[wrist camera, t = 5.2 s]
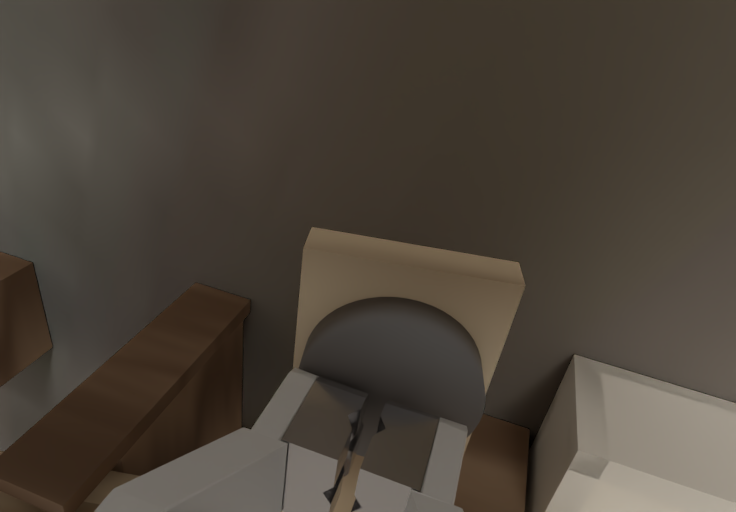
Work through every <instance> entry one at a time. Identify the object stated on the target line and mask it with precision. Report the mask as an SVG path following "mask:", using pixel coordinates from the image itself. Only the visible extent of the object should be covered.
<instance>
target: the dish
mask: <svg viewBox="0 0 736 512" xmlns="http://www.w3.org/2000/svg"><path fill="white" fill-rule="evenodd" d="M525 512H736V403H733V402H730V401H727V400H723V399H720V398H717V397H713V396H710V395H707V394H704V393H700V392H697V391H694V390H690V389H687V388H684V387H680V386H677V385H674V384H671V383H667V382H664V381H661V380H657V379H654V378H651V377H647V376H644V375H641V374H638V373H634V372H631V371H628V370H624V369H621V368H618V367H615V366H611V365H608V364H605V363H601V362H598V361H595V360H591V359H588V358H585V357H582V356H578V355H575V354H574V356H573V358H572V360H571V362H570V364H569V366H568V369H567V371H566V373H565V375H564V377H563V379H562V381H561V384H560V386H559V388H558V390H557V392H556V394H555V397H554V399H553V401H552V403H551V405H550V407H549V409H548V412H547V414H546V416H545V418H544V420H543V422H542V425H541V427H540V429H539V431H538V433H537V435H536V437H535V440H534V442H533V444H532V446H531V448H530V450H529V453H528V465H527V482H526V498H525Z"/></svg>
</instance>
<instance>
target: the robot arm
mask: <svg viewBox="0 0 736 512" xmlns="http://www.w3.org/2000/svg"><path fill="white" fill-rule="evenodd" d="M368 401H369V394H367V393H365V392H362V391H359V390H356V389H354V388H351V387H348V386H346V385H343V384H340V383H337V382H335V381H332V380H329V379H327V378H324V377H321V376H317V375H314V374H312V373H309V372H306V371H303V370H301V369H298V368H294V369H292V370H291V371H290V372H289V373H288V374H287V376H286V377H285V379H284V380H283V382H282V383H281V385H280V386H279V388H278V389H277V391H276V392H275V394H274V395H273V397H272V398H271V400H270V401H269V403H268V404H267V406H266V407H265V409H264V410H263V412H262V413H261V415H260V416H259V418H258V419H257V421H256V422H255V424H254V425H253V427H252V428H251V430H250V429H247V428H244V427H243V428H240V429H238V430H236V431H234V432H232V433H230V434H228V435H226V436H224V437H221V438H219V439H217V440H215V441H213V442H211V443H209V444H207V445H205V446H202V447H200V448H198V449H196V450H194V451H192V452H190V453H188V454H186V455H184V456H181V457H179V458H177V459H175V460H173V461H171V462H169V463H167V464H165V465H162V466H160V467H158V468H156V469H154V470H152V471H150V472H148V473H146V474H143V475H141V476H139V477H137V478H135V479H133V480H131V481H129V482H127V483H125V484H122V485H120V486H118V487H116V488H114V489H113V490H112V491H111V492H110V493H109V495H108V496H107V497H106V498H105V499H104V500H103V502H102V503H101V504H100V505H99V506H98V507H97V509H96V510H95V511H94V512H281V511H283V512H333V511H334V508H335V506H336V503H337V501H338V499H339V496H340V492H341V487H342V482H343V477H345V476H347V475H348V474H349V472H350V469H351V467H352V464H353V462H354V459H355V456H356V453H357V450H358V447H359V443H360V440H361V436H362V432H363V427H364V424H363V423H362V420H363V417H364V415H365V413H366V410H367V407H368ZM467 433H468V430H467V426H465V425H462V424H459V423H456V422H453V421H450V420H447V419H444V418H441V417H440V419H439V417H438V416H435V415H432V414H429V413H426V412H423V411H420V410H417V409H414V408H411V407H408V406H405V405H402V404H399V403H396V402H393V401H390V400H387V402H386V403H385V406H384V408H383V411H382V413H381V416H380V420H379V424H378V428H377V433H376V434H375V435H373V436H372V439H371V441H370V444H369V446H368V449H367V452H366V454H365V457H364V460H363V462H362V465H361V467H360V471H359V476H358V480H357V485H356V489H355V494H354V495H355V497H356V499H355V502H354V505H353V507H352V510H351V512H464V511H463V509H462V508H460V507H457V506H455V505H454V502H455V497H456V491H457V486H458V481H459V475H460V470H461V465H462V459H463V454H464V449H465V443H466V438H467Z"/></svg>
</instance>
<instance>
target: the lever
mask: <svg viewBox="0 0 736 512" xmlns="http://www.w3.org/2000/svg"><path fill="white" fill-rule="evenodd" d="M524 289H525V282H524V279H523V275H522V272H521V268H520V265H519V262H514V261H508V260H502V259H496V258H490V257H485V256H479V255H473V254H467V253H461V252H455V251H450V250H444V249H438V248H432V247H426V246H420V245H415V244H409V243H403V242H397V241H391V240H385V239H380V238H374V237H368V236H362V235H356V234H351V233H345V232H339V231H333V230H327V229H321V228H316V227H312V228H311V230H310V233H309V235H308V238H307V240H306V242H305V245H304V247H303V257H302V269H301V280H300V292H299V303H298V315H297V327H296V338H295V350H294V361H293V369H294V368H298V369H301V370H303V371H306V372H309V373H312V374H314V375H317V376H321V377H324V378H327V379H329V380H332V381H335V382H337V383H340V384H343V385H346V386H348V387H351V388H354V389H356V390H359V391H362V392H365V393H367V394H369V401H368V407H367V410H366V413H365V415H364V417H363V420H362V423H363V424H364V427H363V432H362V436H361V440H360V443H359V447H358V450H357V453H356V456H355V459H354V462H353V464H352V467H351V469H350V472H349V474H348V475H347V476H345V477H343V482H342V487H341V492H340V496H339V499H338V501H337V503H336V506H335V508H334V511H333V512H351V510H352V507H353V505H354V502H355V499H356V497H355V495H354V494H355V489H356V485H357V480H358V476H359V471H360V467H361V465H362V462H363V460H364V457H365V454H366V452H367V449H368V446H369V444H370V441H371V439H372V436H373V435H375V434H376V433H377V428H378V424H379V420H380V416H381V413H382V411H383V408H384V406H385V403H386V402H387V400H390V401H393V402H396V403H399V404H402V405H405V406H408V407H411V408H414V409H417V410H420V411H423V412H426V413H429V414H432V415H435V416H438V417H439V419H440V417H441V418H444V419H447V420H450V421H453V422H456V423H459V424H462V425H465V426H467V430H468V433H467V438H466V443H465V449H464V453H465V451H466V448H467V445H468V442H469V440H470V437H471V434H472V432H473V431H474V430H475V428H476V427H477V425H478V424H479V422H480V420H481V418H482V416H483V412H484V408H485V400H486V393H487V390H488V388H489V385H490V382H491V379H492V377H493V374H494V371H495V368H496V366H497V363H498V360H499V357H500V355H501V352H502V349H503V346H504V344H505V341H506V338H507V335H508V333H509V330H510V327H511V325H512V322H513V319H514V316H515V314H516V311H517V308H518V305H519V303H520V300H521V297H522V294H523V292H524ZM3 452H4V451H0V455H1V454H2V453H3ZM463 456H464V454H463ZM137 477H139V476H138V475H133V474H127V473H121V472H116V471H110V472H109V473H108V474H107V475H106V477H105V478H104V479H103V480H102V481H101V482H100V483H99V485H98V486H97V487H96V488H95V489H94V490H93V491H92V492H91V494H90V495H89V496H88V497H87V498H86V499H85V500H84V502H83V503H82V504H81V505H80V506H79V507H78V508H77V509H76V511H75V512H94V511H95V510H96V509H97V507H98V506H99V505H100V504H101V503H102V502H103V500H104V499H105V498H106V497H107V496H108V495H109V493H110V492H111V491H112V490H113V489H114V488H116V487H118V486H120V485H122V484H125V483H127V482H129V481H131V480H133V479H135V478H137ZM0 512H47V511H44V510H42V509H40V508H38V507H35V506H33V505H31V504H28V503H26V502H24V501H22V500H19V499H17V498H15V497H13V496H10V495H8V494H6V493H4V492H1V491H0ZM281 512H283V511H281Z"/></svg>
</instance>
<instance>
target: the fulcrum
mask: <svg viewBox="0 0 736 512" xmlns="http://www.w3.org/2000/svg"><path fill="white" fill-rule="evenodd" d="M250 304H251V300H249V299H246V298H243V297H240V296H237V295H233V294H230V293H227V292H224V291H221V290H218V289H215V288H212V287H209V286H205V285H202V284H199V283H195V284H194V285H192V286H191V287H190V288H189V289H188V290H187V291H186V292H185V293H183V294H182V295H181V296H180V297H179V298H178V299H177V300H175V301H174V302H173V303H172V304H171V305H170V306H169V307H168V308H166V309H165V310H164V311H163V312H162V313H161V314H160V315H158V316H157V317H156V318H155V319H154V320H153V321H152V322H151V323H149V324H148V325H147V326H146V327H145V328H144V329H143V330H141V331H140V332H139V333H138V334H137V335H136V336H135V337H134V338H132V339H131V340H130V341H129V342H128V343H127V344H126V345H124V346H123V347H122V348H121V349H120V350H119V351H118V352H117V353H115V354H114V355H113V356H112V357H111V358H110V359H109V360H107V361H106V362H105V363H104V364H103V365H102V366H101V367H100V368H98V369H97V370H96V371H95V372H94V373H93V374H92V375H90V376H89V377H88V378H87V379H86V380H85V381H84V382H83V383H81V384H80V385H79V386H78V387H77V388H76V389H75V390H73V391H72V392H71V393H70V394H69V395H68V396H67V397H66V398H64V399H63V400H62V401H61V402H60V403H59V404H58V405H56V406H55V407H54V408H53V409H52V410H51V411H50V412H49V413H47V414H46V415H45V416H44V417H43V418H42V419H41V420H39V421H38V422H37V423H36V424H35V425H34V426H33V427H32V428H30V429H29V430H28V431H27V432H26V433H25V434H24V435H22V436H21V437H20V438H19V439H18V440H17V441H16V442H15V443H13V444H12V445H11V446H10V447H9V448H8V449H7V450H5V451H4V452H3V453H2V454H1V455H0V491H1V492H4V493H6V494H8V495H10V496H13V497H15V498H17V499H19V500H22V501H24V502H26V503H28V504H31V505H33V506H35V507H38V508H40V509H42V510H44V511H47V512H75V511H76V509H77V508H78V507H79V506H80V505H81V504H82V503H83V502H84V500H85V499H86V498H87V497H88V496H89V495H90V494H91V492H92V491H93V490H94V489H95V488H96V487H97V486H98V485H99V483H100V482H101V481H102V480H103V479H104V478H105V477H106V475H107V474H108V473H109V472H110V471H116V472H121V473H127V474H133V475H138V476H141V475H143V474H146V473H148V472H150V471H152V470H154V469H156V468H158V467H160V466H162V465H165V464H167V463H169V462H171V461H173V460H175V459H177V458H179V457H181V456H184V455H186V454H188V453H190V452H192V451H194V450H196V449H198V448H200V447H202V446H205V445H207V444H209V443H211V442H213V441H215V440H217V439H219V438H221V437H224V436H226V435H228V434H230V433H232V432H234V431H236V430H238V429H240V428H241V425H242V366H243V320H244V319H245V318H246V316H247V315H248V314H249V313H250ZM51 348H52V342H51V338H50V334H49V330H48V326H47V321H46V317H45V313H44V309H43V305H42V300H41V296H40V292H39V288H38V284H37V279H36V275H35V271H34V267H33V263H32V262H29V261H26V260H23V259H20V258H17V257H14V256H11V255H8V254H5V253H2V252H0V387H1V386H2V385H4V384H5V383H6V382H7V381H9V380H10V379H11V378H13V377H14V376H15V375H17V374H18V373H19V372H21V371H22V370H23V369H25V368H26V367H27V366H28V365H30V364H31V363H32V362H34V361H35V360H36V359H38V358H39V357H40V356H42V355H43V354H44V353H46V352H47V351H48V350H50V349H51ZM529 432H530V429H527V428H524V427H521V426H518V425H515V424H512V423H509V422H506V421H503V420H500V419H497V418H494V417H491V416H488V415H485V414H483V416H482V418H481V420H480V422H479V424H478V425H477V427H476V428H475V430H474V431H473V432H472V434H471V437H470V440H469V442H468V445H467V448H466V451H465V453H464V456H463V459H462V465H461V470H460V475H459V481H458V486H457V491H456V497H455V502H454V505H455V506H457V507H460V508H462V509H463V511H464V512H525V498H526V482H527V465H528V449H529Z"/></svg>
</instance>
